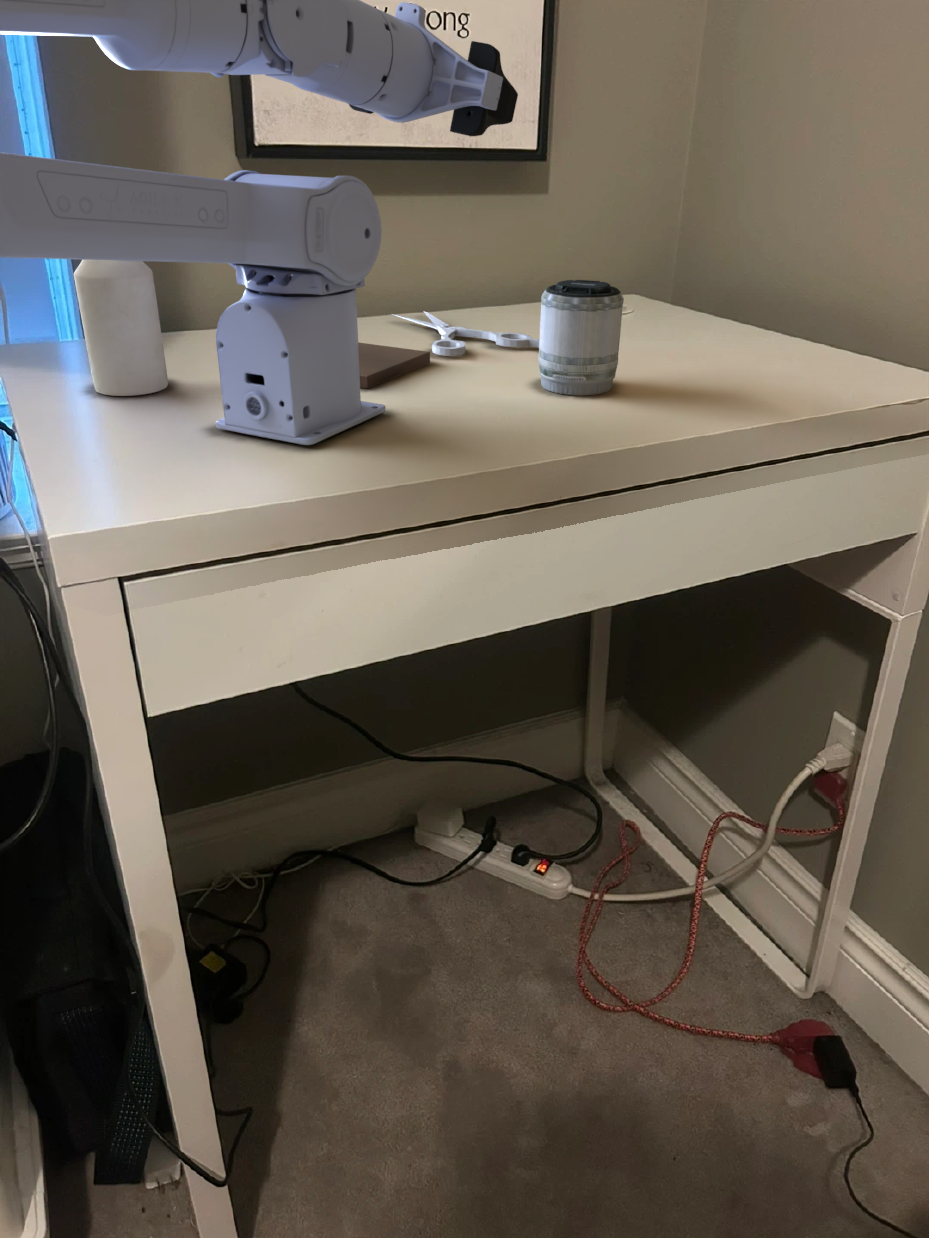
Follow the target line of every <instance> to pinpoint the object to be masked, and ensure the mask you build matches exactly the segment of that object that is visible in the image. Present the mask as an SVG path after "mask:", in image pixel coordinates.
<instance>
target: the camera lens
mask: <svg viewBox="0 0 929 1238" xmlns="http://www.w3.org/2000/svg"><path fill="white" fill-rule="evenodd" d="M624 299H625V298H624V296H623V293H622V292H621V290H620V289H618V288H617V287H615V286H612V285H611V284H610V283H608V282H606V281H600V280H590V279H589V280H587V279H575V280H574V279H567V280H561V281H558V282H557V283H556V284H553V285H549V286H547V288H545V290H544V291H543V293H542V294H541V299H540V301H541V302H540V303H541V304H540V318H539V319H540V322H539V340H540V341H539V348H538V370H539V376H540V384H541V387H542V388H543V389H544V390H546V391H548V392H552V393H555V394H560V395H567V396H579V397H581V396H595V395H601V394H605V393H608V392H609V391H611V390H612V388H613V383H614V379H615V378H616V374H617V369H618V365H619V351H620V342H621V331H622V330H621V329H622V321H623V320H622V319H623V307H624Z"/></svg>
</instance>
